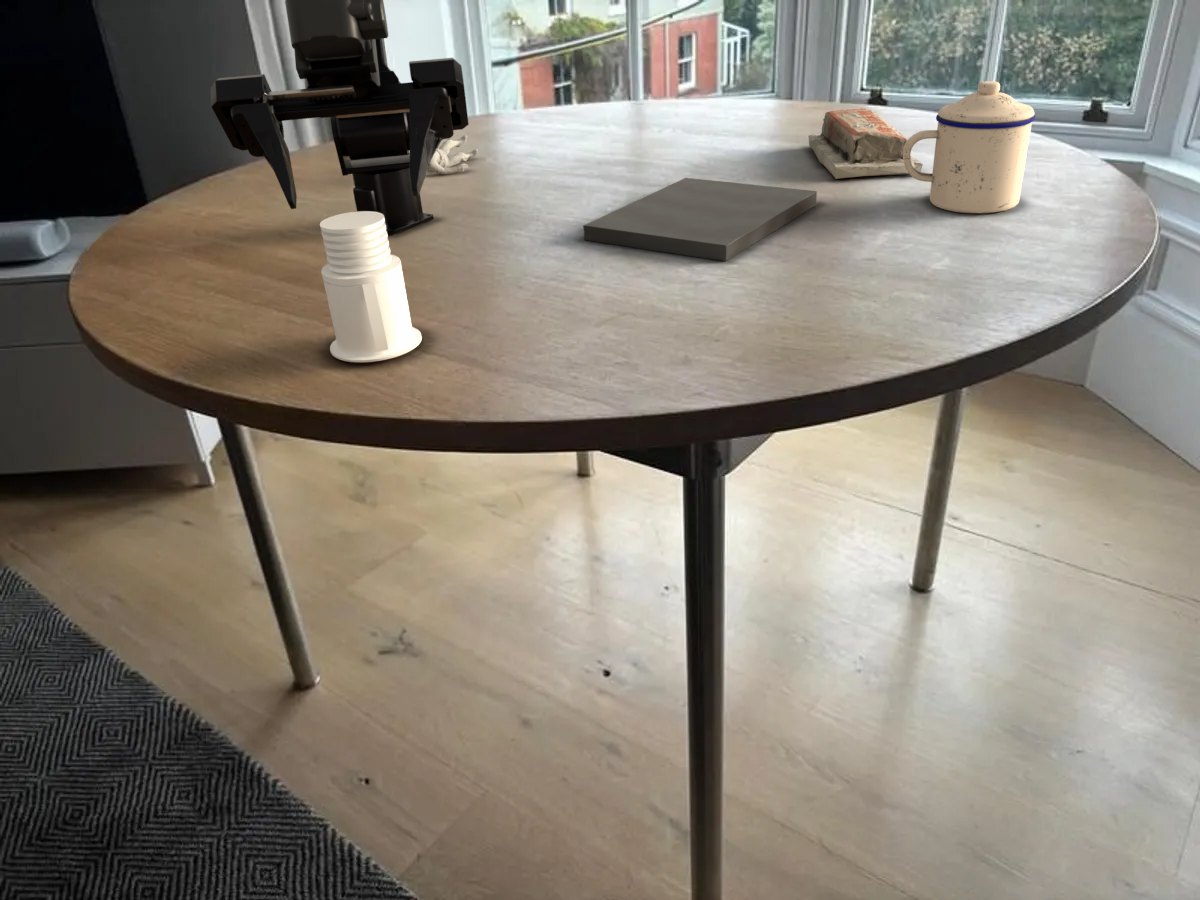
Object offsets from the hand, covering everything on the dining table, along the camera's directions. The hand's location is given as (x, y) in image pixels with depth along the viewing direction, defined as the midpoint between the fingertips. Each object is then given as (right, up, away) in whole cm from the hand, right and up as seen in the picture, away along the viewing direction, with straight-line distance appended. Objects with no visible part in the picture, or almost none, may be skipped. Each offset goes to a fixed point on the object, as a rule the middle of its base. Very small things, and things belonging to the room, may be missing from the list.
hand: (354, 199), depth 70 cm
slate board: (+29, +5, +26) cm, 39 cm away
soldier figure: (-2, +19, +54) cm, 57 cm away
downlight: (+1, -11, +2) cm, 11 cm away
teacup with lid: (+56, +6, +26) cm, 62 cm away
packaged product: (+50, +16, +44) cm, 69 cm away
